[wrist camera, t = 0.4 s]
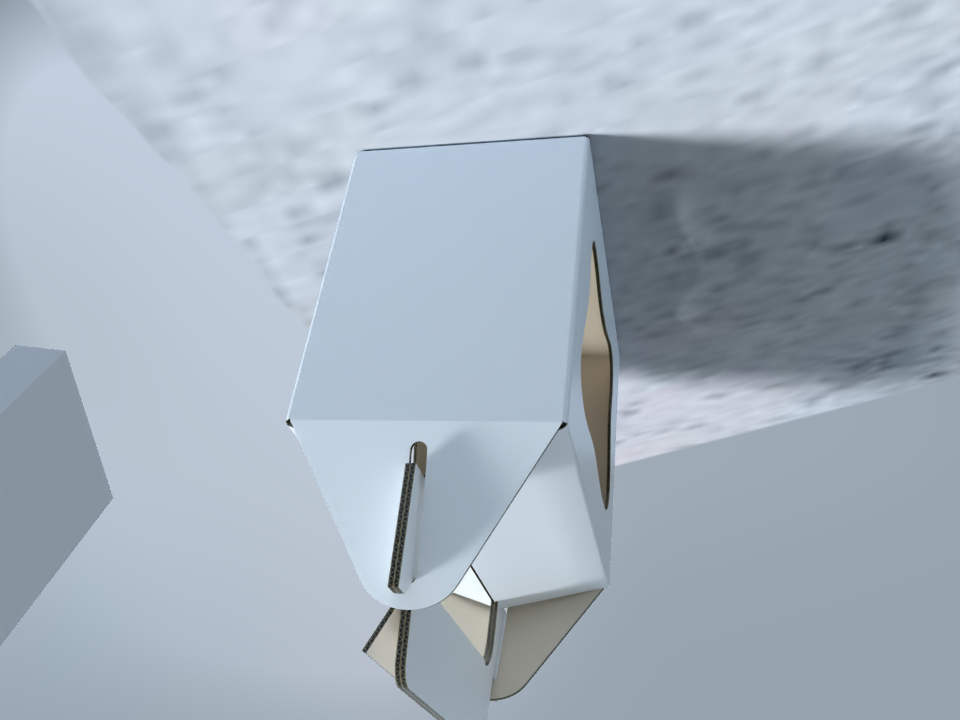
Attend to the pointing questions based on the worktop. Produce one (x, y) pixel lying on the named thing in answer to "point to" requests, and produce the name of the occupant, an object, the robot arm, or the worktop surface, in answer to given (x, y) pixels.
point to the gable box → (467, 408)
